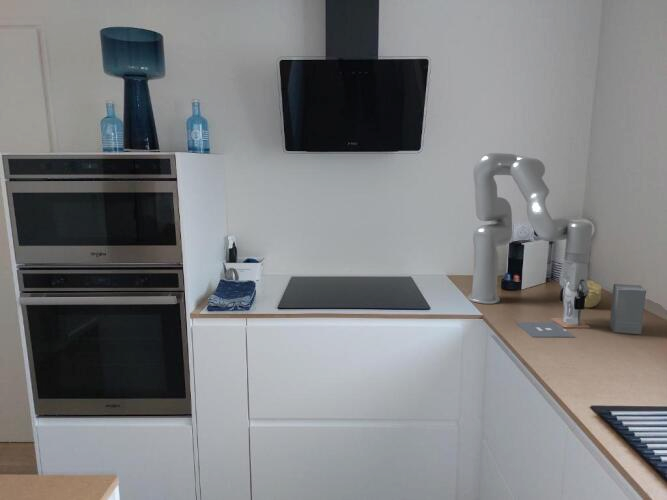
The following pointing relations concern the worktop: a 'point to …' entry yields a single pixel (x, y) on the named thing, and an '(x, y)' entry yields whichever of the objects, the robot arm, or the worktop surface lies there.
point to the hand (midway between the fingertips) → (571, 305)
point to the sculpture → (593, 294)
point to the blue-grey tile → (544, 329)
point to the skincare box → (627, 308)
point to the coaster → (559, 322)
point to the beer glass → (570, 307)
